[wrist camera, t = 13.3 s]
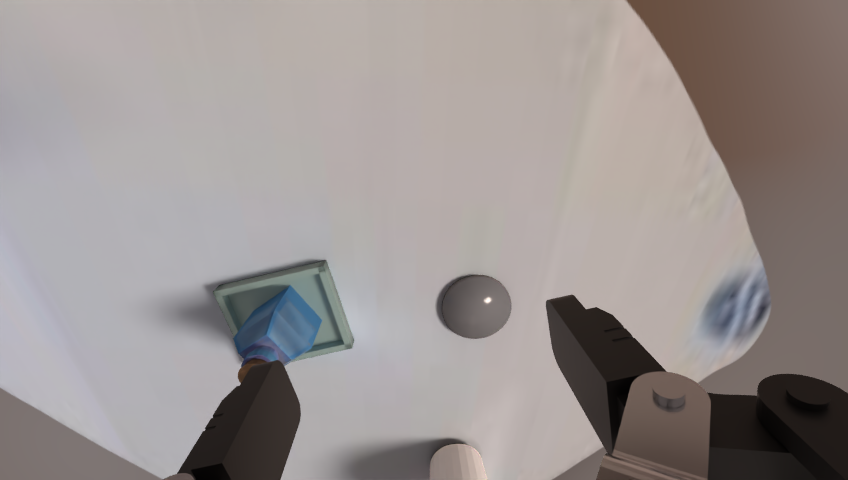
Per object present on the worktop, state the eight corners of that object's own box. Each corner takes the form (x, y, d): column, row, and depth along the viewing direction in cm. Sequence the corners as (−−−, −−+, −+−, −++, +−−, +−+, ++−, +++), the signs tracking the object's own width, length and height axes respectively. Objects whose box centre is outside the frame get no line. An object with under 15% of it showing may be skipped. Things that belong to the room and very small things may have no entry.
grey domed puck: (435, 283, 51) (435, 286, 50) (503, 267, 51) (505, 270, 50) (449, 341, 54) (450, 345, 53) (514, 327, 54) (516, 330, 53)
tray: (219, 285, 50) (212, 291, 48) (326, 260, 49) (323, 266, 48) (254, 362, 54) (249, 371, 52) (354, 340, 53) (352, 348, 52)
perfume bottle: (290, 285, 50) (255, 340, 38) (322, 320, 51) (298, 382, 40) (253, 310, 51) (208, 371, 39) (285, 344, 52) (252, 411, 41)
